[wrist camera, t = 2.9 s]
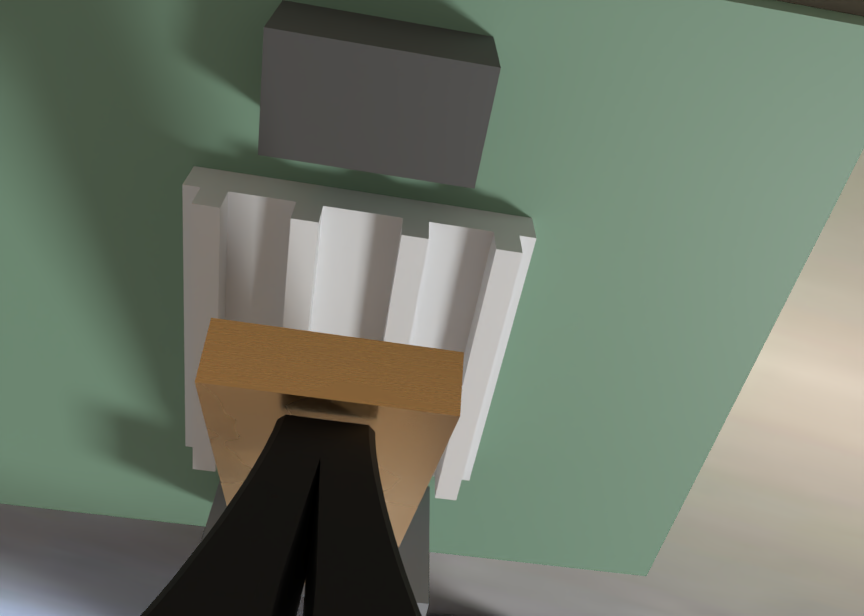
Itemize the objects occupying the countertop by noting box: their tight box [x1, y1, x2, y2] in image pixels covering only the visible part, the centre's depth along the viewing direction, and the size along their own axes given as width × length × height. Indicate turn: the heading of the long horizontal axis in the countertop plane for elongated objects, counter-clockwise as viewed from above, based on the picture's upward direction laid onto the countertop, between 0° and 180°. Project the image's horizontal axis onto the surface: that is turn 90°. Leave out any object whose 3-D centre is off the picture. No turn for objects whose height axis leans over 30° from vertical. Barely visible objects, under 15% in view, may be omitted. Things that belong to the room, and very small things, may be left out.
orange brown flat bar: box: [195, 318, 464, 596], centre depth 17 cm, size 14×4×1 cm, turn 170°
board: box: [0, 0, 864, 616], centre depth 19 cm, size 18×22×5 cm
